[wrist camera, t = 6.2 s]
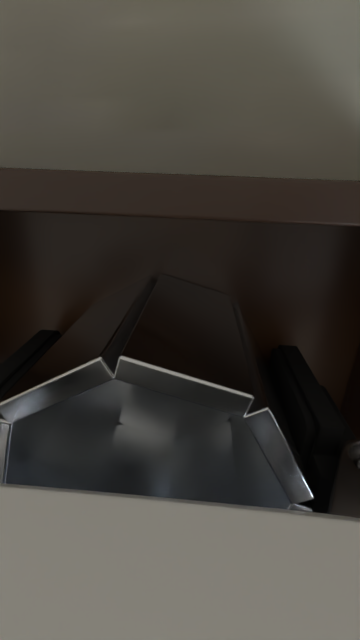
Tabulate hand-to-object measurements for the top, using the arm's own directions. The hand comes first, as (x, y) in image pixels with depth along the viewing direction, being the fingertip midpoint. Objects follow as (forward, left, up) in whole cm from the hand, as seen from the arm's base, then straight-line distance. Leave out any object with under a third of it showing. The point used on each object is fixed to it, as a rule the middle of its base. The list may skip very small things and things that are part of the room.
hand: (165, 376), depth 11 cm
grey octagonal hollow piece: (0, 0, -1) cm, 1 cm away
